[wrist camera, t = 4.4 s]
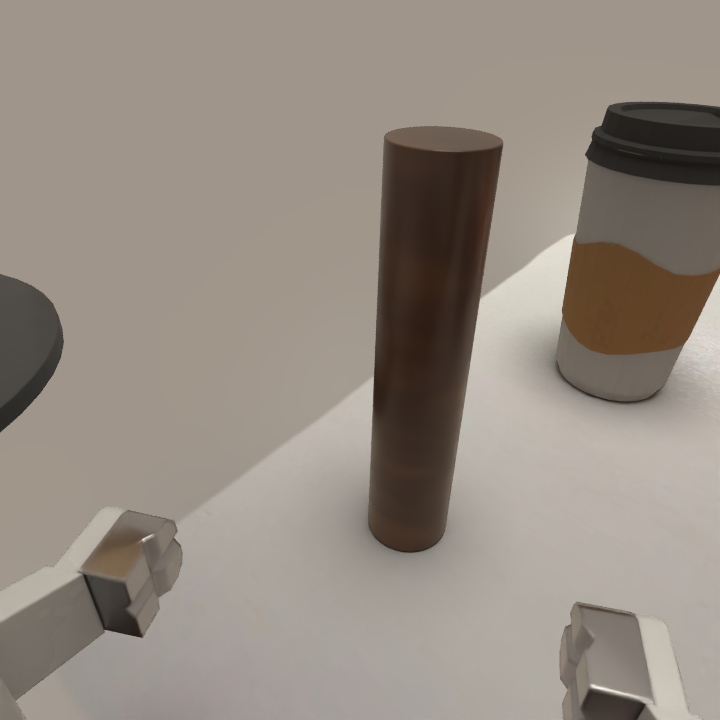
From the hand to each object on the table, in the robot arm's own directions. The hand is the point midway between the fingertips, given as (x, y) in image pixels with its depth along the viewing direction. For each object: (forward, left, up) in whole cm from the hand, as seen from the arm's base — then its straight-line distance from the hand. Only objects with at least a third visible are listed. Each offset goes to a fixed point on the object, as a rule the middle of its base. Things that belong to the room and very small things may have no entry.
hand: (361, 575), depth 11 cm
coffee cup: (+21, +17, -10) cm, 28 cm away
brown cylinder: (+5, +9, -9) cm, 14 cm away
